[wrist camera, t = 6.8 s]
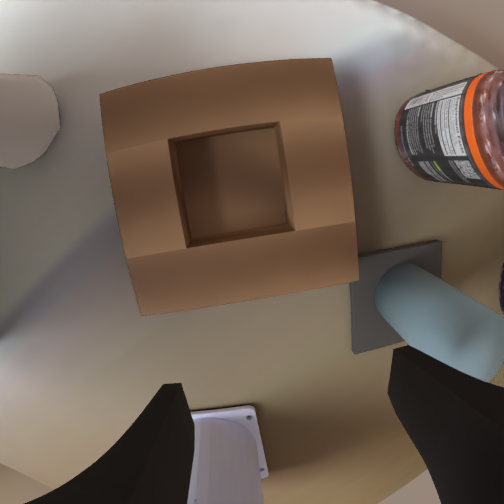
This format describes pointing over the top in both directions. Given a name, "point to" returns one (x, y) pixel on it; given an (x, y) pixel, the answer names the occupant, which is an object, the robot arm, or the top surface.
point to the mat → (363, 291)
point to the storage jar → (501, 289)
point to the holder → (231, 183)
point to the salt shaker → (26, 119)
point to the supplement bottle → (456, 132)
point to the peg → (441, 320)
